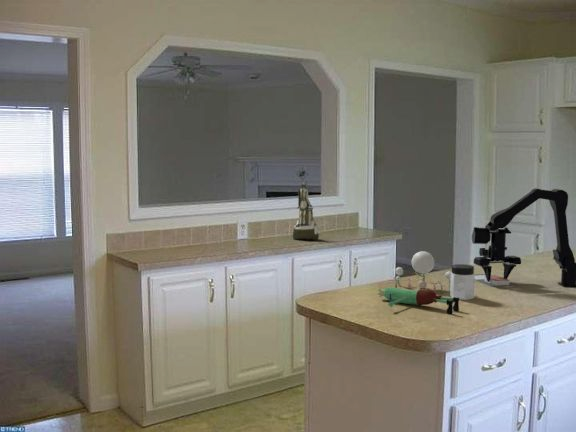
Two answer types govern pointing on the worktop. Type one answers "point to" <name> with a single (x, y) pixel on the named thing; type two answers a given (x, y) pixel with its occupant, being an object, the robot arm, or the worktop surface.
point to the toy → (417, 297)
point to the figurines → (422, 269)
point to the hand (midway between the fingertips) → (496, 281)
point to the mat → (481, 279)
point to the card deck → (497, 280)
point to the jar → (462, 282)
